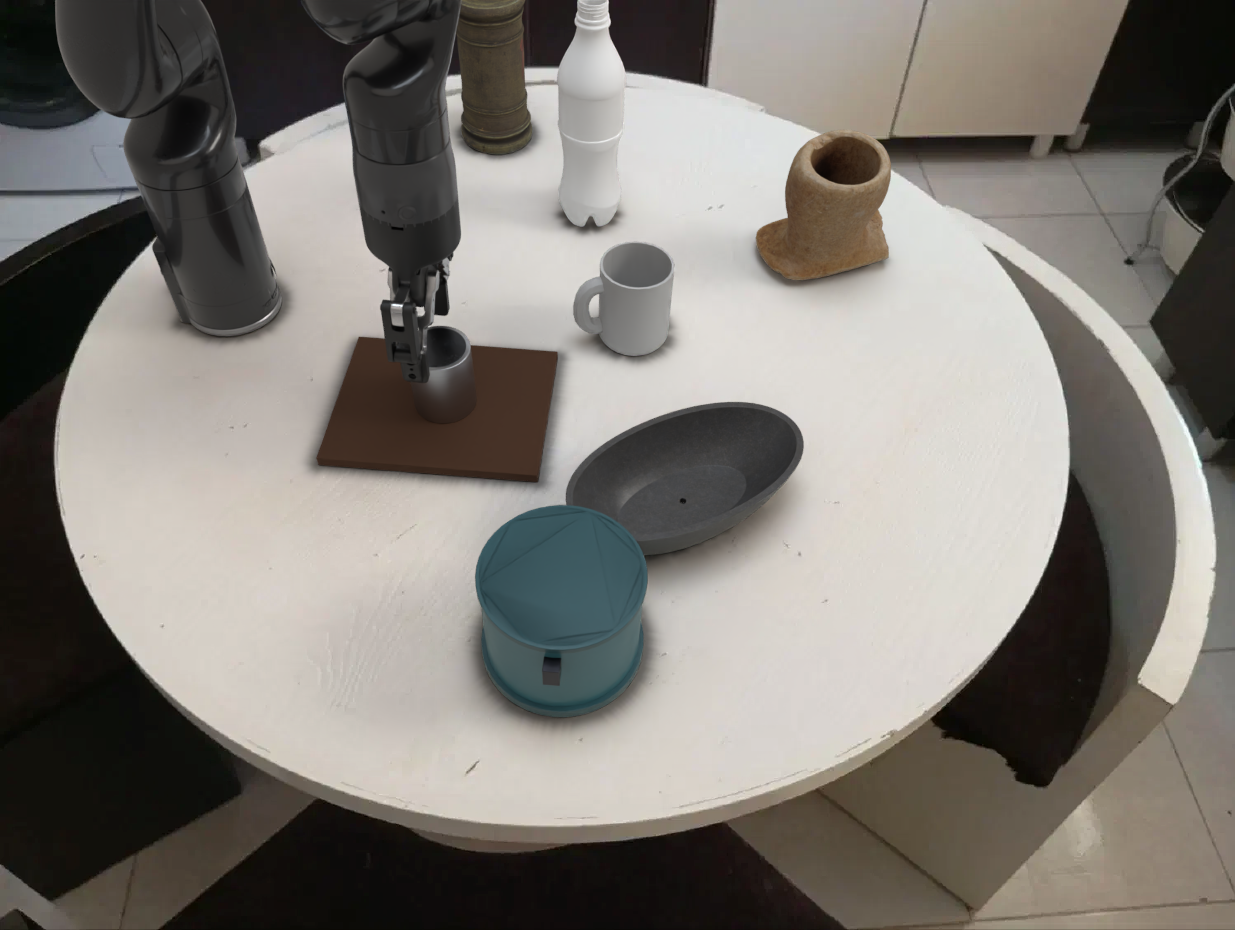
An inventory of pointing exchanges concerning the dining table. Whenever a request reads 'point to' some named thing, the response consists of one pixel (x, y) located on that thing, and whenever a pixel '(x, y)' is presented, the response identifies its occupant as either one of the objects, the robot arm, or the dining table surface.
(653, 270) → the cup
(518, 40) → the container
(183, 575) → the dining table surface
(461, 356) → the silver cup
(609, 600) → the teal round canister
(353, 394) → the mat
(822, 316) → the dining table surface
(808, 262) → the stone cup
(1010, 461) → the dining table surface
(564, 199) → the water bottle
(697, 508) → the bowl
